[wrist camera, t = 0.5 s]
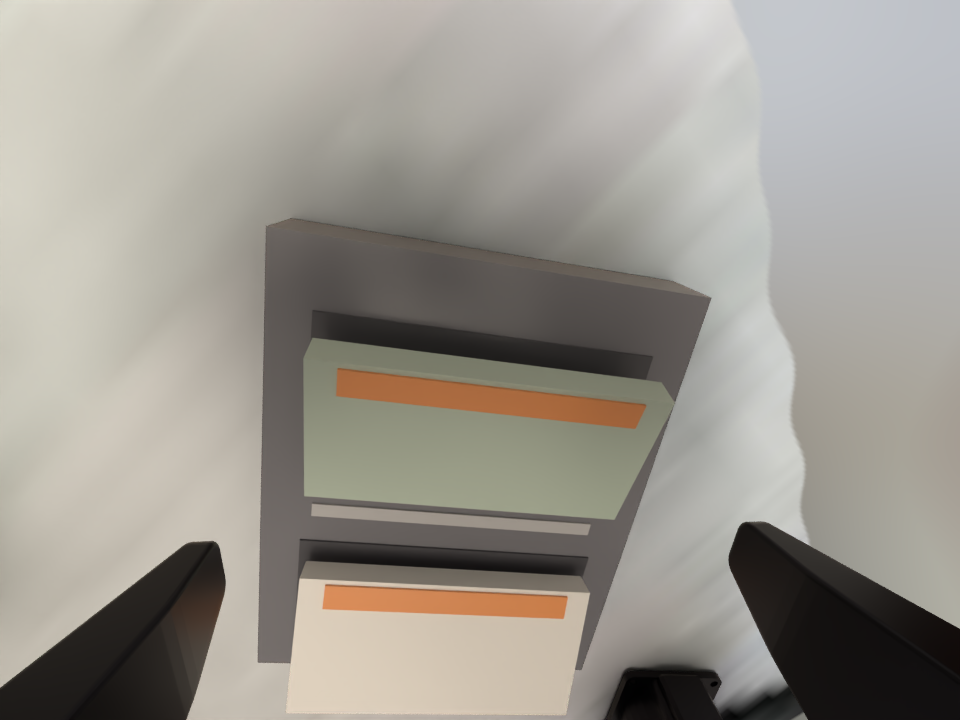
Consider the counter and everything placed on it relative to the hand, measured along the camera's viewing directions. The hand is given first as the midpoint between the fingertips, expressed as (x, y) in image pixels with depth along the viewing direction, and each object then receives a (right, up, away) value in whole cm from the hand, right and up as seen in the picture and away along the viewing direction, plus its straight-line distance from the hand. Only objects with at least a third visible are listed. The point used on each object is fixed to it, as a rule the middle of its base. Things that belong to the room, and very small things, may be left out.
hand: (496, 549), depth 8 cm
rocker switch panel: (-1, -2, +15) cm, 15 cm away
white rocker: (-2, -9, +14) cm, 16 cm away
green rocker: (0, +1, +10) cm, 10 cm away
